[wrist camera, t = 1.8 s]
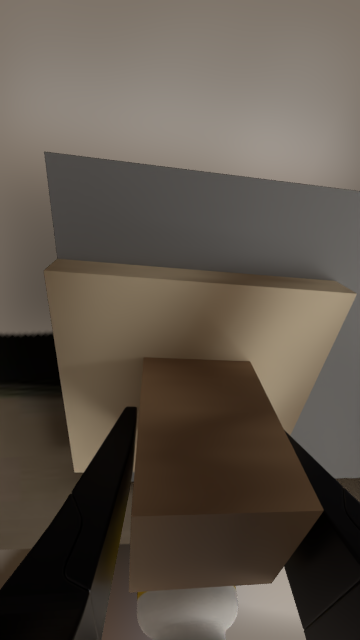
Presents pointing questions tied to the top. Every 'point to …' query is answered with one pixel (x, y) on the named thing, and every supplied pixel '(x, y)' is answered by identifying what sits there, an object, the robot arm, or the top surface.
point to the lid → (197, 407)
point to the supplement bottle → (187, 613)
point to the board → (227, 255)
